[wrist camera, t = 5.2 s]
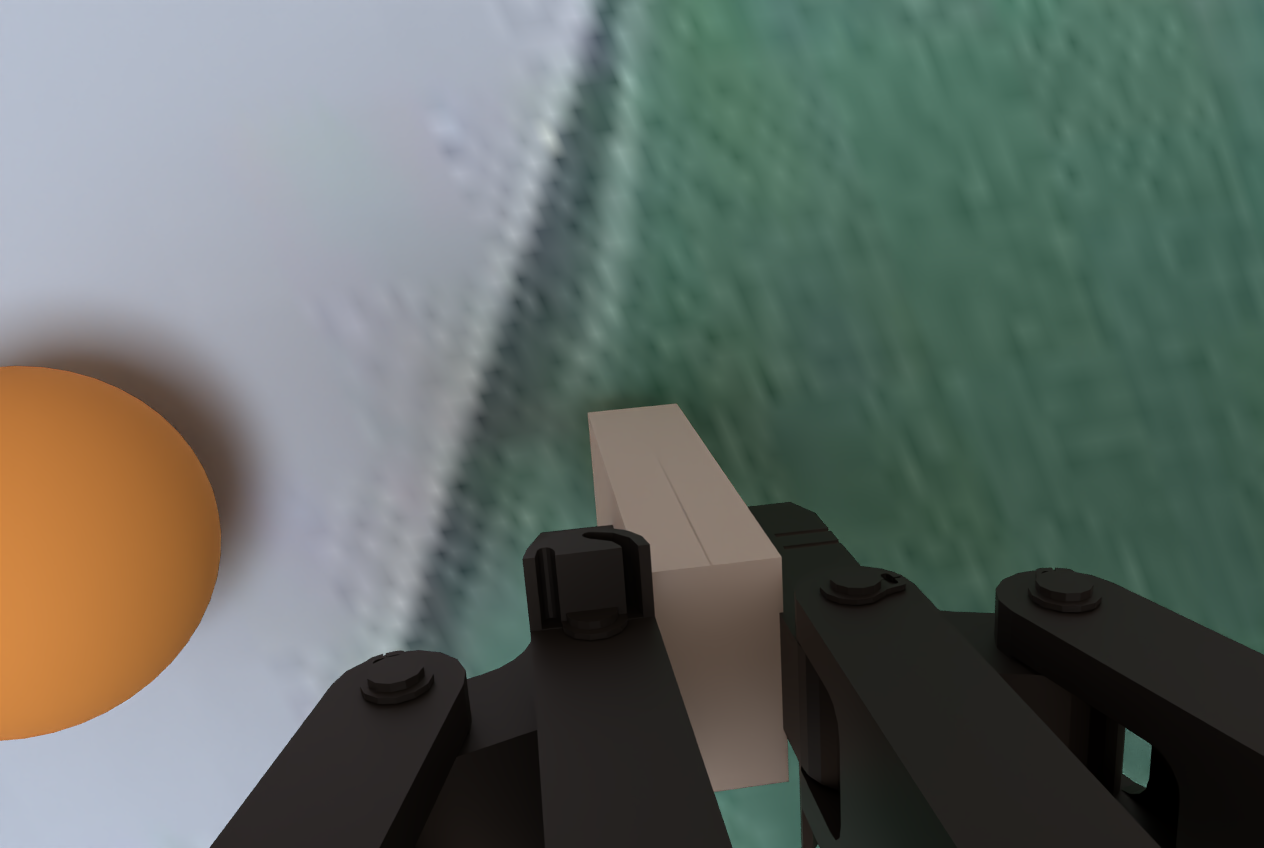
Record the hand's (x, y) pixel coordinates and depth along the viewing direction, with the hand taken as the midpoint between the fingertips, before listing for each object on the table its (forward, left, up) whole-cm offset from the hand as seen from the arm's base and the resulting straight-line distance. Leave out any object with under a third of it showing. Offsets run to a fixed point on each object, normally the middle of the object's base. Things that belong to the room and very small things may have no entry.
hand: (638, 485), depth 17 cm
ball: (+9, 0, +1) cm, 9 cm away
